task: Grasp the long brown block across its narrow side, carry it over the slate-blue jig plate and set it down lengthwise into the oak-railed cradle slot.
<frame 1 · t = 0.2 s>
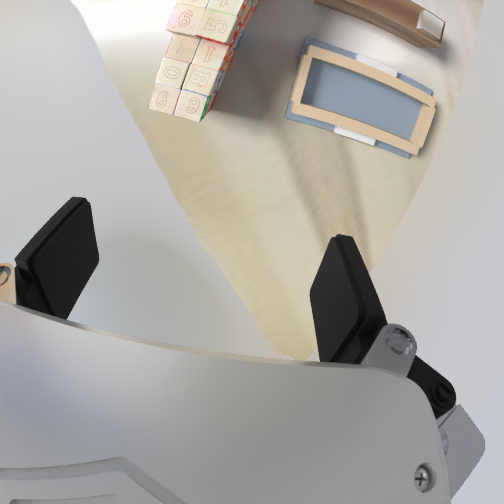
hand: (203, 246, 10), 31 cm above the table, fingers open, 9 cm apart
stack of blocks: (218, 35, 28), on the table
long brown block: (373, 11, 24), on the table
cradle: (363, 99, 33), on the table
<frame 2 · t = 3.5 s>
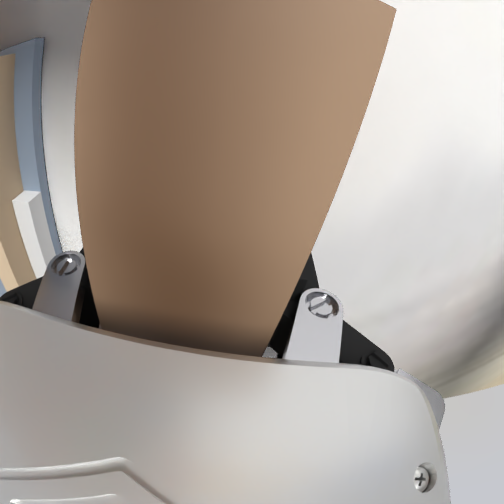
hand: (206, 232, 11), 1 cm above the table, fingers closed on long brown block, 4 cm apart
long brown block: (208, 218, 12), on the table, touching gripper
when the fingers open (4 cm above the table, at t = 9.2 s): long brown block drops 2 cm, resting on cradle.
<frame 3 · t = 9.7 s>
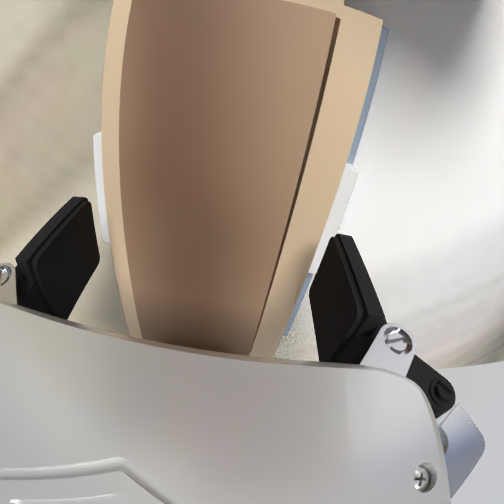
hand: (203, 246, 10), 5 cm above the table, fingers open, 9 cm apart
long brown block: (218, 195, 14), point 1 cm above the table, touching cradle
cradle: (218, 192, 14), on the table
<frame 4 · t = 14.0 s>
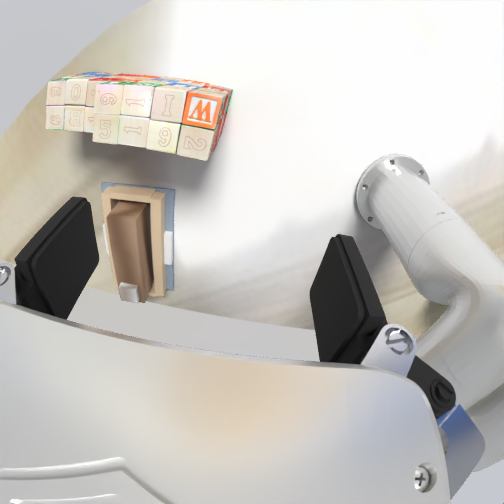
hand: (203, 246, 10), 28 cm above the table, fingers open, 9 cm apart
stack of blocks: (150, 97, 31), on the table
long brown block: (138, 241, 44), point 1 cm above the table, touching cradle
cradle: (139, 239, 45), on the table
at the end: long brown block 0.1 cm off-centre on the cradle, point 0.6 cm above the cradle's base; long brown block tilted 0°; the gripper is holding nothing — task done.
